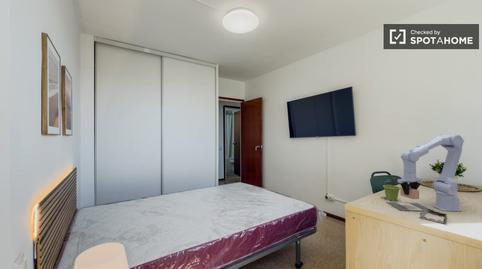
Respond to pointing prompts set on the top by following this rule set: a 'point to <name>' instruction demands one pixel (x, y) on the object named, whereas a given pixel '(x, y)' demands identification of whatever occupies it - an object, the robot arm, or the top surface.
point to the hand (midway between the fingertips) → (409, 194)
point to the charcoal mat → (408, 206)
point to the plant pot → (391, 192)
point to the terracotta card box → (410, 193)
